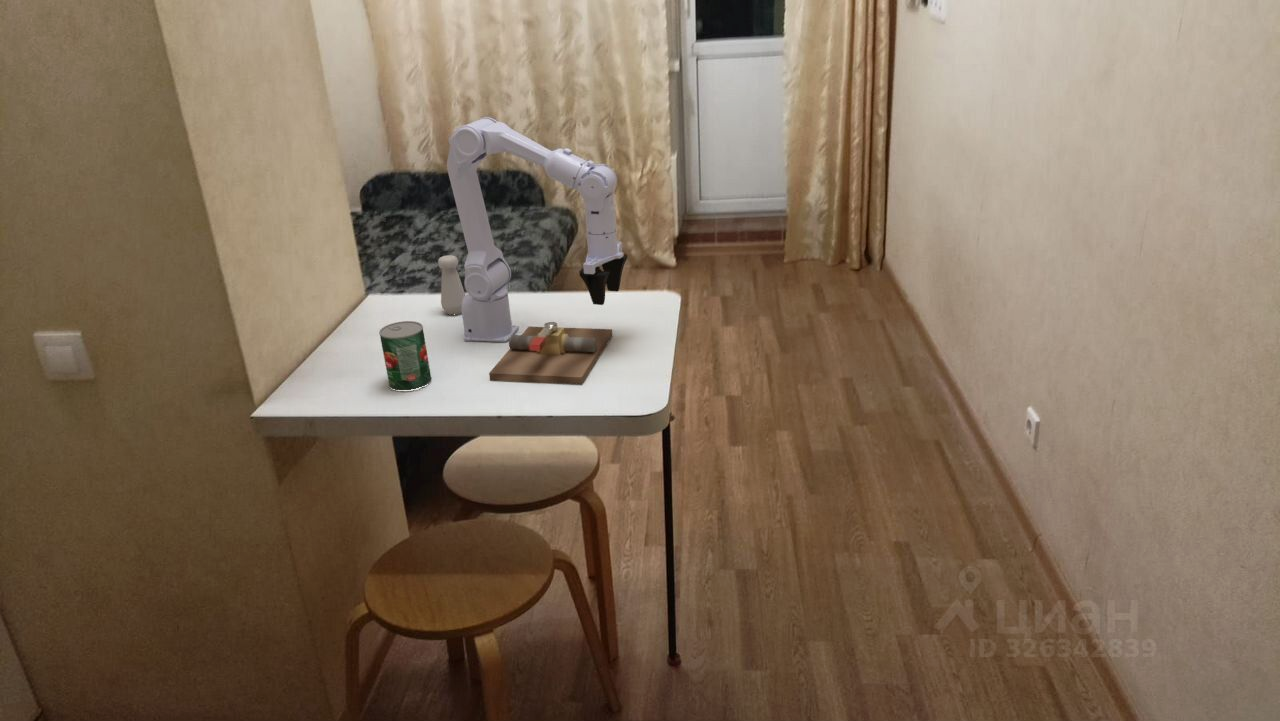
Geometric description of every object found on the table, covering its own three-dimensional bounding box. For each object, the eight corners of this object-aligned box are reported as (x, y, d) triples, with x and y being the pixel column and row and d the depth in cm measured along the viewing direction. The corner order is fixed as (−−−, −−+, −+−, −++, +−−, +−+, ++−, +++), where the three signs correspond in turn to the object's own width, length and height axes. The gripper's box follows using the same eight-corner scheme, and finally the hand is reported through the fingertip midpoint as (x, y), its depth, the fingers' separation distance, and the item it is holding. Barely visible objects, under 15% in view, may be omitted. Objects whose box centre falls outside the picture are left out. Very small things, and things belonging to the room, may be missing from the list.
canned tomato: (440, 380, 174) (431, 326, 170) (406, 395, 169) (396, 340, 165) (414, 370, 179) (405, 317, 175) (380, 385, 174) (370, 331, 169)
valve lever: (559, 327, 180) (558, 322, 179) (541, 350, 170) (540, 344, 169) (547, 327, 180) (546, 321, 180) (528, 350, 170) (528, 344, 170)
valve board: (489, 380, 173) (486, 353, 171) (529, 333, 193) (526, 308, 191) (582, 384, 169) (579, 357, 167) (612, 335, 189) (610, 310, 187)
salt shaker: (456, 305, 211) (448, 251, 206) (474, 310, 208) (466, 254, 202) (437, 314, 207) (428, 258, 201) (455, 318, 204) (446, 262, 198)
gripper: (606, 242, 169) (610, 312, 175) (634, 221, 181) (638, 286, 187) (571, 240, 171) (576, 308, 177) (601, 219, 184) (606, 283, 189)
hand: (606, 297), depth 182 cm, fingers open, 7 cm apart
